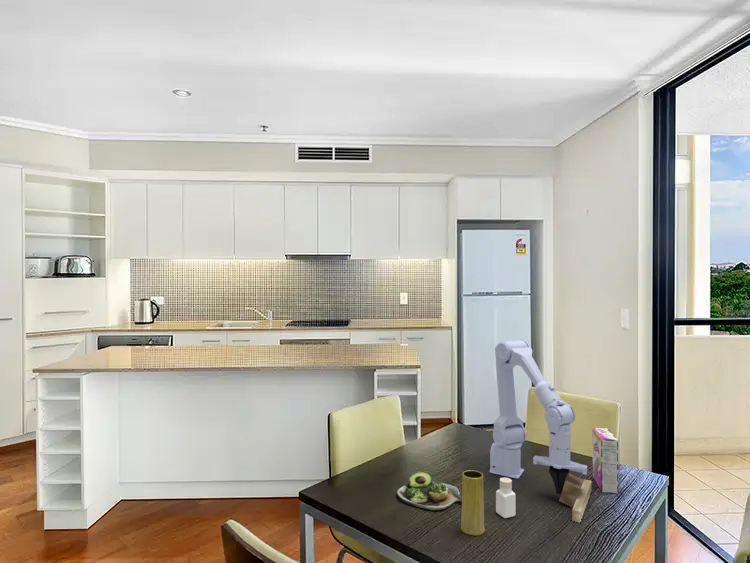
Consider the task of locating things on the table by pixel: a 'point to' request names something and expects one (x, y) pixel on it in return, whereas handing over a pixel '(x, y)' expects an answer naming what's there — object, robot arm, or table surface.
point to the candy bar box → (605, 460)
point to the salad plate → (428, 492)
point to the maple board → (581, 501)
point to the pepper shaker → (505, 499)
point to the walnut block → (571, 490)
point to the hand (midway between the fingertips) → (559, 492)
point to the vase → (472, 503)
